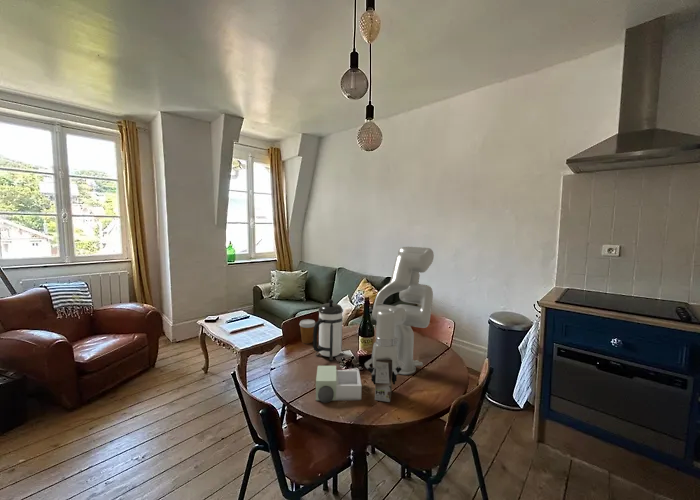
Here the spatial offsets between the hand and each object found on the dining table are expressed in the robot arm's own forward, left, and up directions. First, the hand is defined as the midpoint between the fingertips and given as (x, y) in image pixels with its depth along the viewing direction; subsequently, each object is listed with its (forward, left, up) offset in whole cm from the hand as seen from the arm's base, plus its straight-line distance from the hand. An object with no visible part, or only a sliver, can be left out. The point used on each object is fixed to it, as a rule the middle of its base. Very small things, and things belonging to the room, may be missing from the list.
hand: (383, 382), depth 126 cm
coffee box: (0, 0, -6) cm, 6 cm away
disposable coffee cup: (+36, -57, -6) cm, 68 cm away
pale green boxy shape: (+19, -3, -5) cm, 20 cm away
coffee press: (+23, -37, -6) cm, 44 cm away
